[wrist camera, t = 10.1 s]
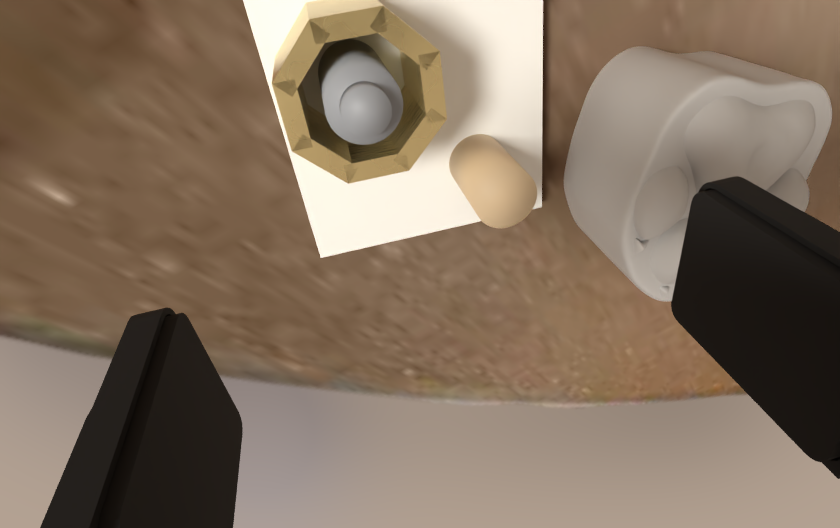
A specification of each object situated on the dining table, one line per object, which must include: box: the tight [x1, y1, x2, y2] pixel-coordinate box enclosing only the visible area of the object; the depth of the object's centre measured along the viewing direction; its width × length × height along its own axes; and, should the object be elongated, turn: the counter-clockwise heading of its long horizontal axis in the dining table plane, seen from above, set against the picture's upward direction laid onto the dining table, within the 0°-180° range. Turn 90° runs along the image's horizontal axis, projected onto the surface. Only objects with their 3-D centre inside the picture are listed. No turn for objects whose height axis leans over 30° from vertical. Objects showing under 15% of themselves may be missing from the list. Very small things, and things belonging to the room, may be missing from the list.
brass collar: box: [272, 0, 447, 184], centre depth 23 cm, size 7×7×5 cm
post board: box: [243, 0, 543, 258], centre depth 25 cm, size 14×15×8 cm
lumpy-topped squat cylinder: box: [564, 46, 832, 301], centre depth 29 cm, size 10×13×9 cm
